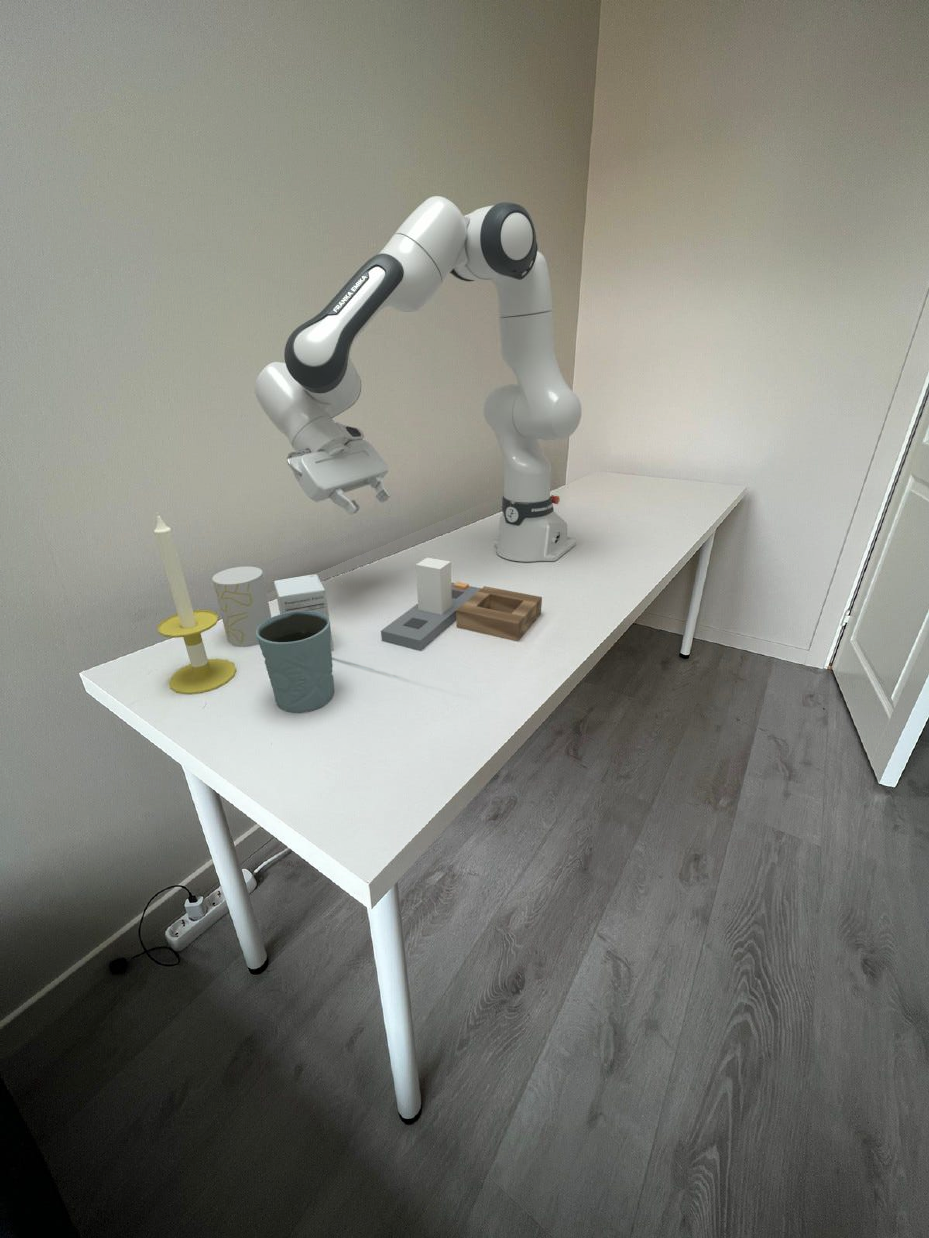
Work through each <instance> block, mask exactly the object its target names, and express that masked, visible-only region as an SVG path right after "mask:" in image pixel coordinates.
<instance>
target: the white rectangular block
mask: <svg viewBox="0 0 929 1238" xmlns="http://www.w3.org/2000/svg"><path fill="white" fill-rule="evenodd" d="M415 573H416V574H415V576H416V593H417V604H418V610H422V611H427V612H431V613H436V614H440V615H442V614H443V613H444V612H446V611H447V610H448V609H449V608H450V607H452V589H451V583H452V562H451V560H450V561H449V560H443V559H437V558H432V557H425V558H424V559H422V560H420V561H419V562H418V563H416V564H415Z"/></svg>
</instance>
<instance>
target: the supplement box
mask: <svg viewBox="0 0 929 1238" xmlns="http://www.w3.org/2000/svg"><path fill="white" fill-rule="evenodd" d="M273 583H274V590H275V594H276V600H277V605H278V610H279V615H280V614H283V613H288V612H294V611H314V612H318V613H322V614H324V615H325V616H327V617H328V618H329V619H330V615H329V608H328V599H327V595H326V589H325V587H324V585H323V584H322V582H321V580H320V577H319V576H318V574H314V573H313V574H307V575H301V576H296V577H290V578H289V577H288V578H285V579H284V578H283V579H278V580H274V581H273ZM330 633H331V637H330V643H331V652H333V651H335V649H334V643H333V642H334V641H333V635H332V629H331V626H330Z"/></svg>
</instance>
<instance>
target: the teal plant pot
mask: <svg viewBox="0 0 929 1238" xmlns="http://www.w3.org/2000/svg"><path fill="white" fill-rule="evenodd" d="M330 627H331V620H330V617H329V618H328V617H327V616H325V615H324V614H322V613H318V612H314V611H294V612H288V613H283V614H280V613H279V614H277V615H274V616H271V618H270V619H268V620H266V621H264V622H263V623H262V624H260V625H259V626H258V628H257V630H256V636H257V639H258V642H259V644H258V645H259V647H260V648H259V649H260V650H261V655H262V657H263V658H264V664H265V669H266V671H267V675H268V678H269V681H270V685H271V688H272V692H273V695H274V699H275V702H276V705H277V706H278V707H279V708H280V709H282V710H283V711H284V712H288V713H293V714H304V713H309V712H314V711H315V710H319V709H320V708H322V707H324V706H326V705H327V704H328V703H329V702H331V700H332V698H333V697H334V695H335V682H334V681H335V680H334V675H333V667H334V666H333V654H332V651H331V643H330V637H331V635H332V632H331V633H330Z"/></svg>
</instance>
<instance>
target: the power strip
mask: <svg viewBox="0 0 929 1238" xmlns="http://www.w3.org/2000/svg"><path fill="white" fill-rule="evenodd" d="M482 588H483V587H476V586H471V585H470V584H469V583H465V582H461V581H456V582H451V589H452V607H450V608H449V609H448V610H447V611H446V612H444V613H443V614H442V615H440V614H436V613H431V612H427V611H422V610H418V603H416V604H415V605H413V606H412V607H411V608H409V609H408V610H406V612H404V613H403V614H402V615H400V616H399V617H397V618H396V619H395V620H393V621H392V622H391V623H389V624H388V625H386V626H385V627H384V628H383V629H381V630H380V635H381V636H380V638H381V642H384V643H387V644H392V645H396V646H400V647H403V648H408V649H412V650H415V651H419V652H421V651H423V650H424V649H425V648H426V647H427V646H429V645H430V644H431V643H432V642H433V641H434V640H435V639H437V637H438V636H440V635H441V634H442V633H443V632H445V630H446V629H448V628H449V627H450V626H451V625H452V624H453V623H456V610H457V609H458V608H459V607H461V606H462V605H463V604H464V603H465V602H466V601H468V600H469V599H470V598H471V597H472V596H473V595H475V594H476V593H477V592H478V591H479V590H481V589H482Z"/></svg>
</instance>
